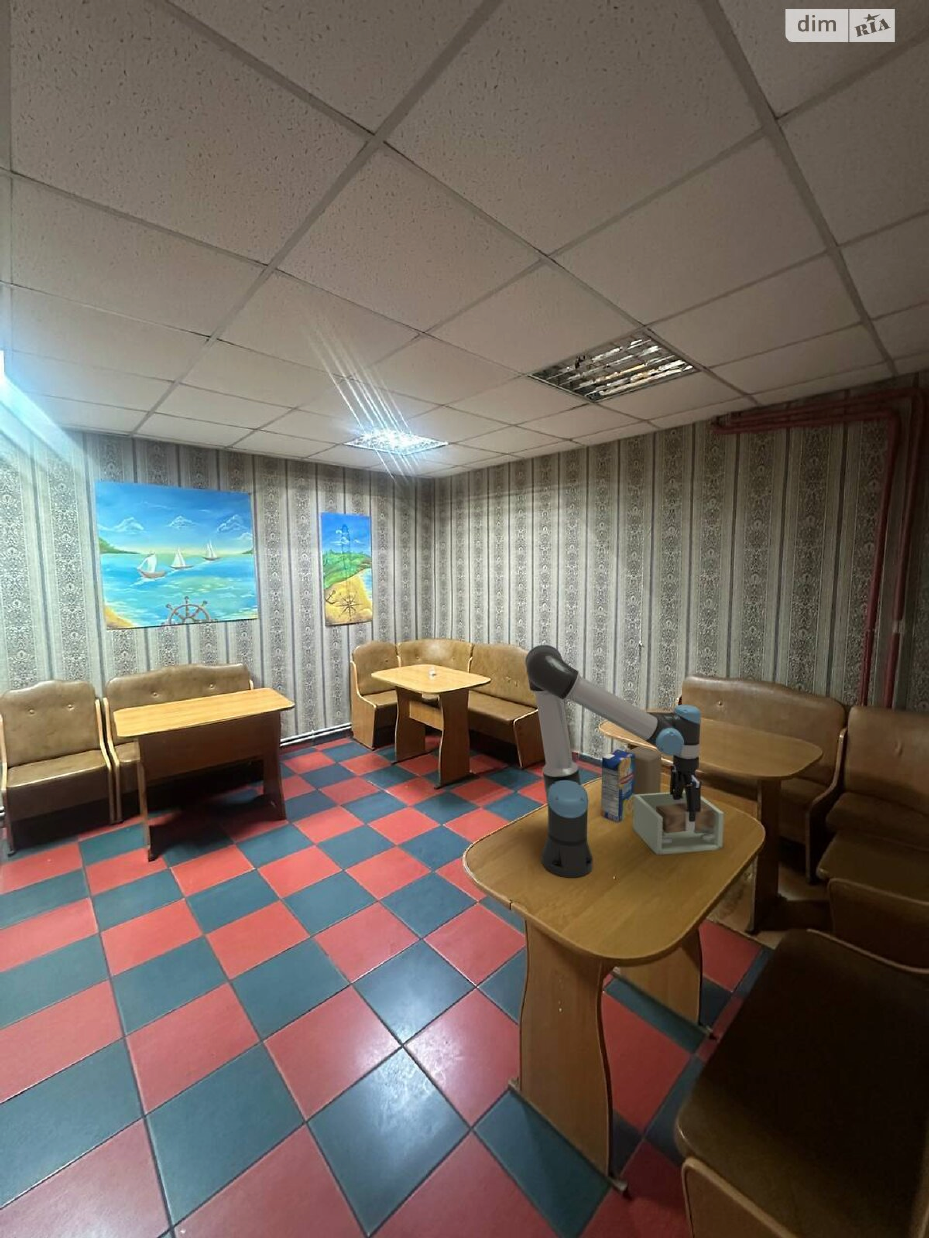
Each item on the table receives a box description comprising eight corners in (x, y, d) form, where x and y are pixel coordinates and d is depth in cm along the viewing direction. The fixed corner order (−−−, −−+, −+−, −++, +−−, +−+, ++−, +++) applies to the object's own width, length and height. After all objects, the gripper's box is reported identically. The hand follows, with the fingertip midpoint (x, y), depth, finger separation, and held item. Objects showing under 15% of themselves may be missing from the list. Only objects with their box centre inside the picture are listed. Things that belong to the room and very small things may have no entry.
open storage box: (656, 854, 154) (658, 817, 153) (632, 828, 170) (633, 794, 168) (722, 849, 157) (723, 812, 156) (692, 823, 173) (693, 790, 171)
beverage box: (600, 816, 178) (602, 757, 176) (616, 805, 186) (617, 749, 183) (618, 823, 173) (619, 762, 171) (633, 812, 181) (635, 754, 179)
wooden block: (637, 794, 195) (638, 745, 193) (660, 803, 187) (662, 752, 185) (622, 802, 189) (624, 751, 187) (646, 811, 181) (648, 759, 179)
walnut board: (666, 833, 155) (666, 815, 154) (656, 823, 160) (656, 806, 160) (713, 827, 157) (713, 809, 156) (701, 818, 163) (701, 801, 162)
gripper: (716, 765, 147) (713, 839, 150) (680, 743, 166) (678, 809, 168) (692, 767, 146) (690, 841, 149) (659, 744, 165) (657, 811, 167)
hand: (683, 824), depth 159 cm, fingers closed on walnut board, 6 cm apart
